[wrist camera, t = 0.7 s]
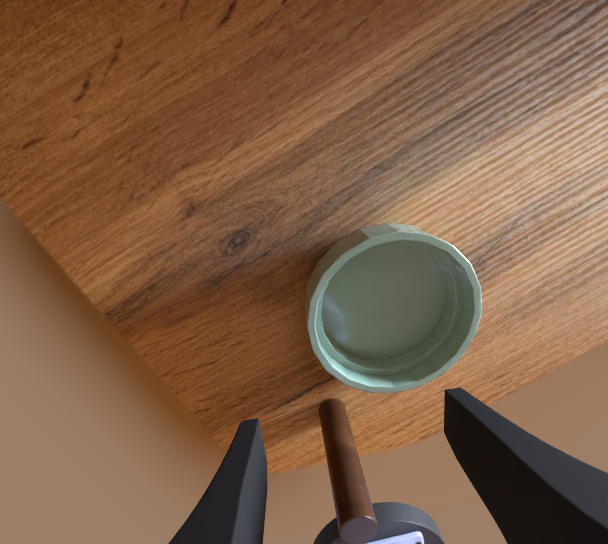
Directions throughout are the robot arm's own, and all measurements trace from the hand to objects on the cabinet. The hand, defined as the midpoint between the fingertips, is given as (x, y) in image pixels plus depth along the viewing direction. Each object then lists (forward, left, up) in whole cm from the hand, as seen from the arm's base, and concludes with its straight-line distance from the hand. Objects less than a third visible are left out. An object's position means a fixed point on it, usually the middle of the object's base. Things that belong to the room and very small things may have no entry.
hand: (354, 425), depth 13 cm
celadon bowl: (0, -4, -11) cm, 12 cm away
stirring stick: (-8, +1, -11) cm, 14 cm away
